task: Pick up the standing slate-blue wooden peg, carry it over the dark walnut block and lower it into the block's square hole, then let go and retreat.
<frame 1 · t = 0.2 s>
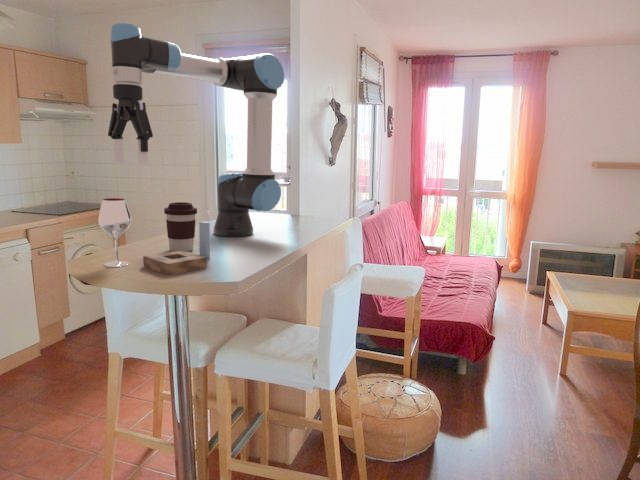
hand: (130, 163, 136), 27 cm above the table, fingers open, 13 cm apart
peg: (204, 258, 143), on the table
coffee cup: (181, 250, 154), on the table
hole block: (175, 267, 132), on the table
wineglass: (116, 265, 133), on the table
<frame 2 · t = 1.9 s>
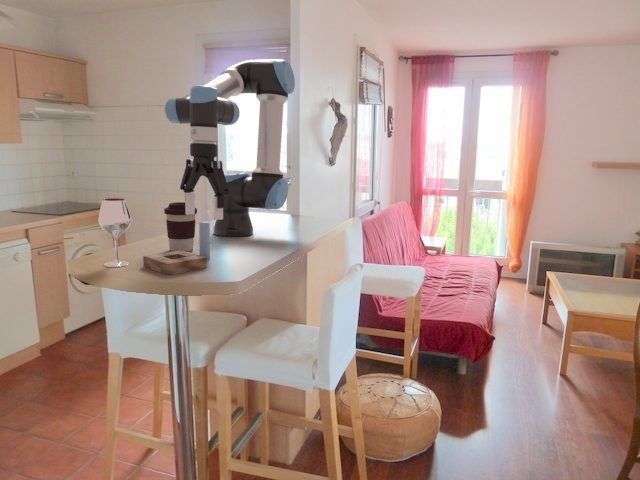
hand: (203, 217, 141), 13 cm above the table, fingers open, 13 cm apart
nothing on the table moved.
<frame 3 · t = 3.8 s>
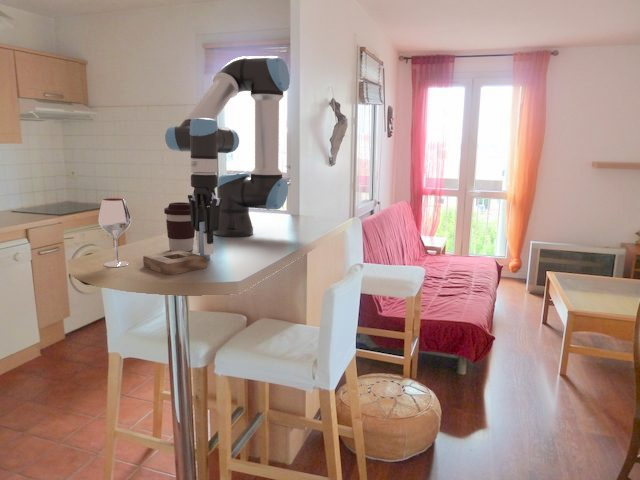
hand: (205, 253, 143), 2 cm above the table, fingers closed on peg, 2 cm apart
peg: (205, 258, 143), on the table, touching gripper
everything else where it was.
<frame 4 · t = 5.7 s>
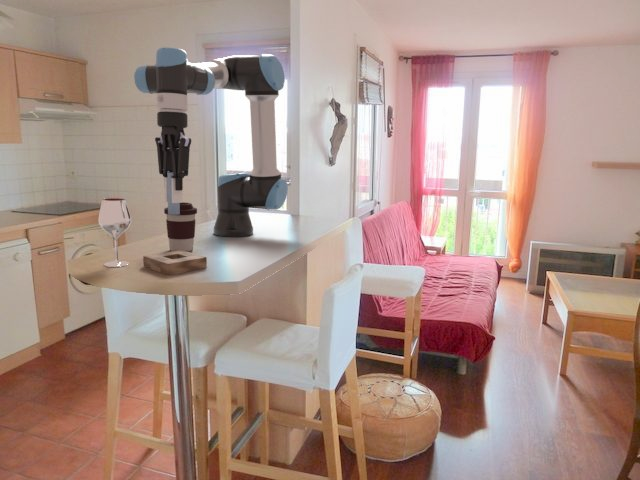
hand: (173, 202, 129), 18 cm above the table, fingers closed on peg, 2 cm apart
peg: (173, 214, 129), point 15 cm above the table, touching gripper
everything else where it was.
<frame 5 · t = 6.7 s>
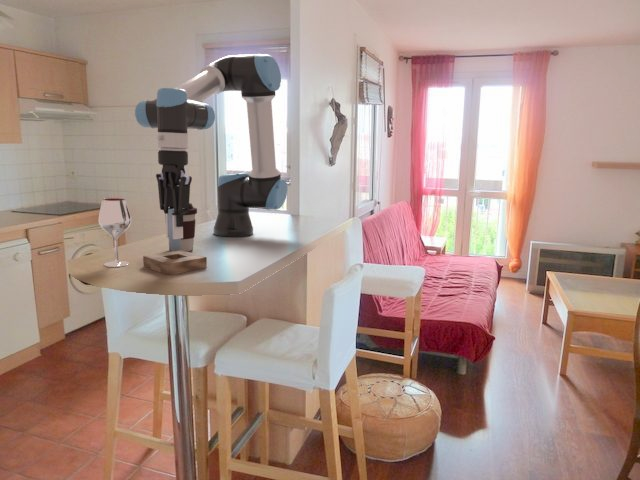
hand: (174, 237, 131), 8 cm above the table, fingers closed on peg, 2 cm apart
peg: (174, 249, 131), point 5 cm above the table, touching gripper
everything else where it was.
when the fingers open (4 cm above the table, at t = 7.8 s): peg stays where it is, resting in hole block.
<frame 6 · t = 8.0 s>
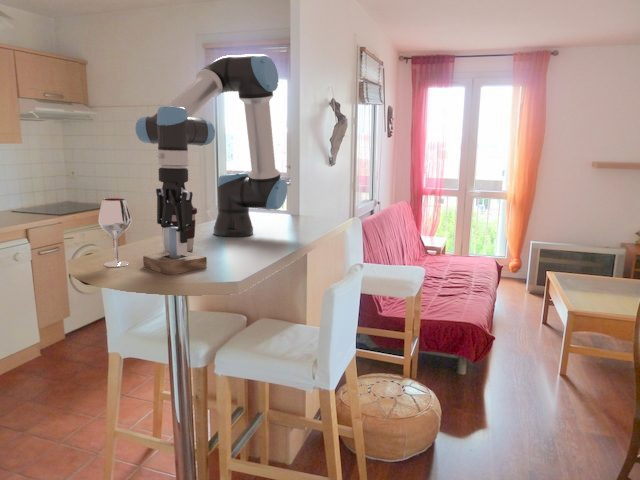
hand: (175, 252, 132), 4 cm above the table, fingers open, 6 cm apart
peg: (175, 267, 132), resting in hole block
everything else where it was.
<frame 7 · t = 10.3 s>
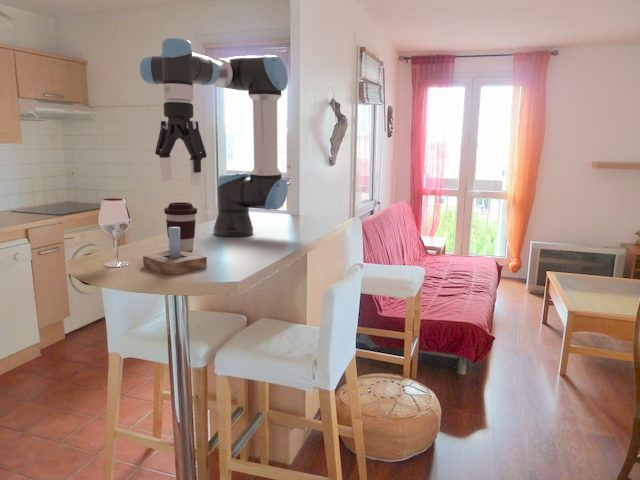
hand: (180, 183, 131), 23 cm above the table, fingers open, 13 cm apart
nothing on the table moved.
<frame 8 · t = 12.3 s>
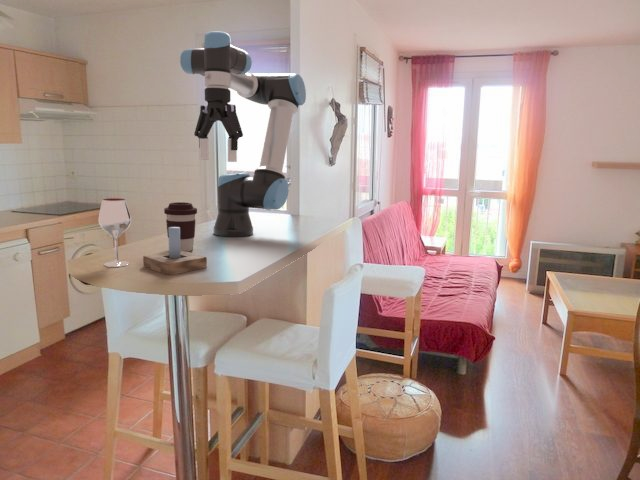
hand: (217, 160, 146), 29 cm above the table, fingers open, 13 cm apart
nothing on the table moved.
at the end: peg 0.1 cm off-centre on the hole block, point 0.0 cm above the hole block's base; peg tilted 0°; the gripper is holding nothing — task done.
